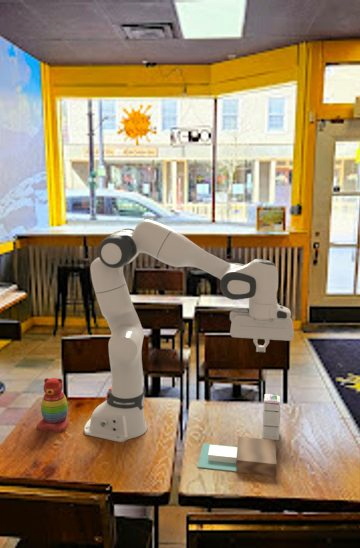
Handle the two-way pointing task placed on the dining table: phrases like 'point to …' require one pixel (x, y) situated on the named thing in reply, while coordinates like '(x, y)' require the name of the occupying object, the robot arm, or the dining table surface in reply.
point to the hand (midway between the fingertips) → (260, 351)
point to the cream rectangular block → (222, 454)
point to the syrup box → (271, 416)
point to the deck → (256, 456)
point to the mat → (214, 464)
